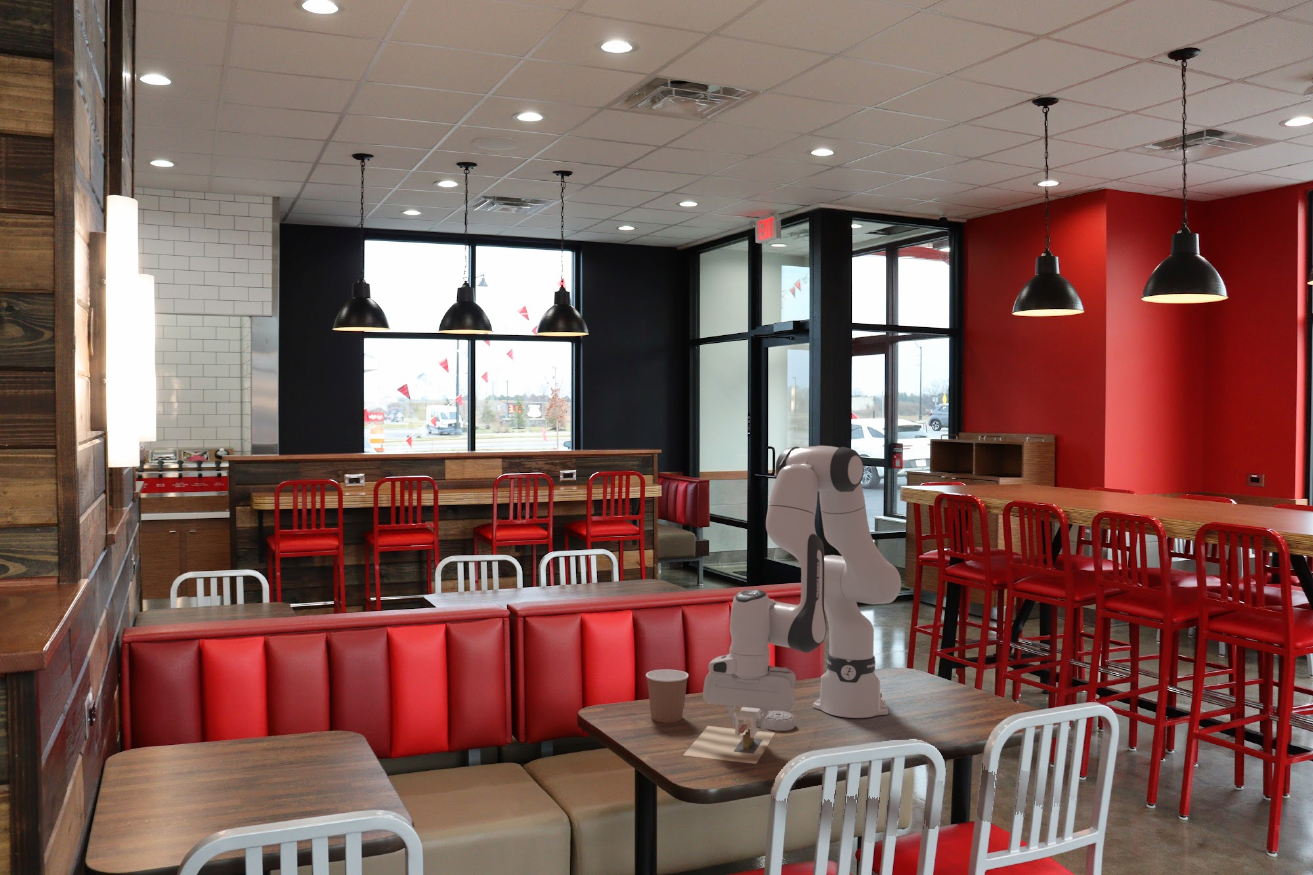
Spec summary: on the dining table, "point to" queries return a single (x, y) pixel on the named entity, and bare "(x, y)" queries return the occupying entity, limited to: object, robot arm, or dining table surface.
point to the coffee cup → (667, 694)
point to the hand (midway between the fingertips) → (748, 726)
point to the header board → (729, 745)
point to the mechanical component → (779, 721)
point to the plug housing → (747, 715)
